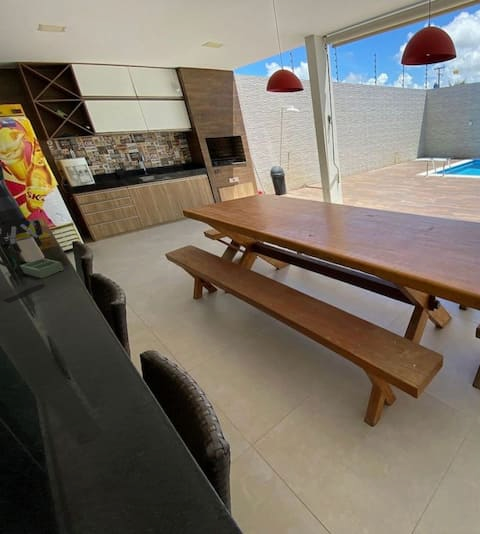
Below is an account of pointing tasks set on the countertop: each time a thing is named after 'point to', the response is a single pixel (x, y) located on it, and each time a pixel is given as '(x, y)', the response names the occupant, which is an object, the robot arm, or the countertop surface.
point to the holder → (42, 268)
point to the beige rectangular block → (29, 249)
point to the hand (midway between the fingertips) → (29, 249)
